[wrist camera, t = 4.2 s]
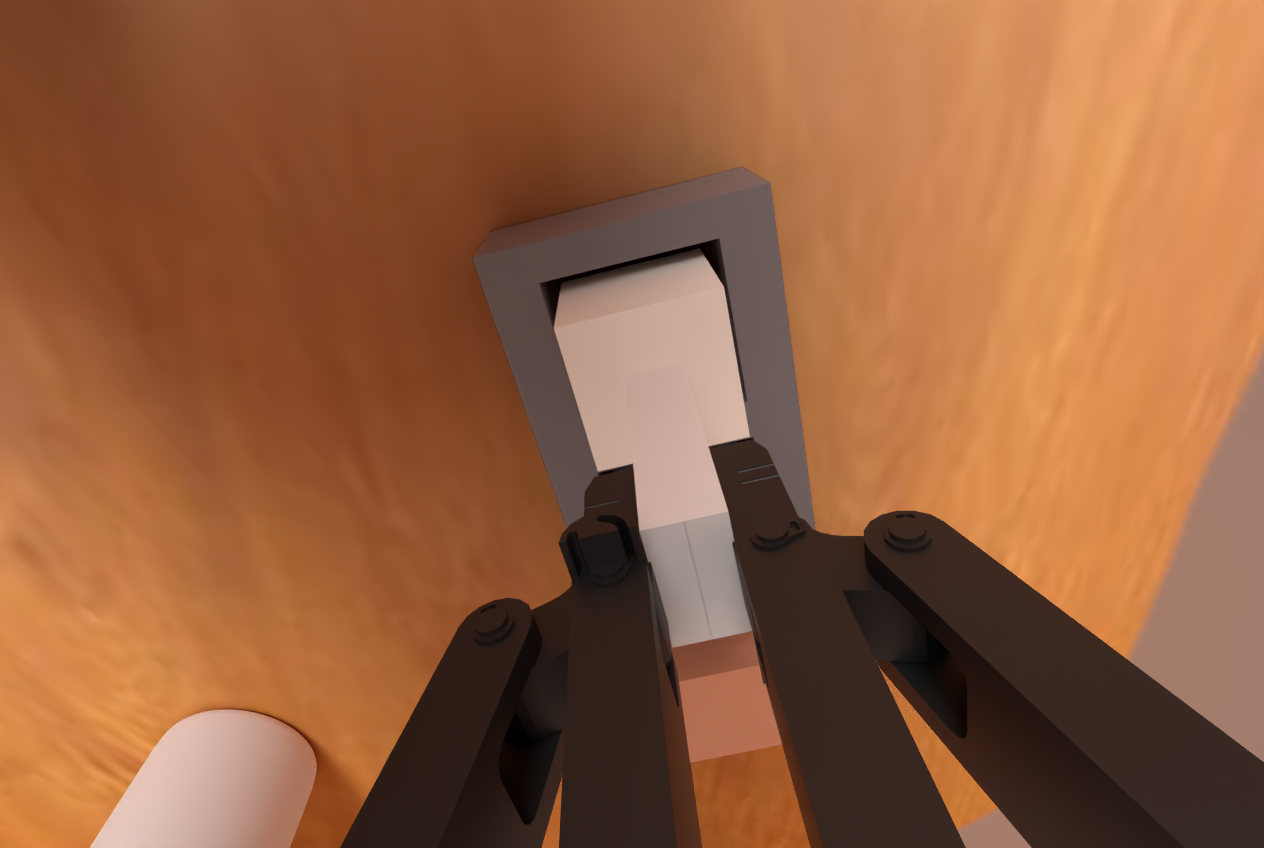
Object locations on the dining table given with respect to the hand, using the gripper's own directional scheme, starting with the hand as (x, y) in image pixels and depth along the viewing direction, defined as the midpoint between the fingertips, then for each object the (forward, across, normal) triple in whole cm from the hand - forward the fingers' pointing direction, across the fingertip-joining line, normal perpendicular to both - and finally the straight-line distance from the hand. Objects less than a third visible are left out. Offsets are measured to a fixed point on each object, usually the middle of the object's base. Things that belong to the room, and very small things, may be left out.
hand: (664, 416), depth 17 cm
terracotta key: (+6, 0, -14) cm, 15 cm away
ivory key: (+6, 0, 0) cm, 6 cm away
